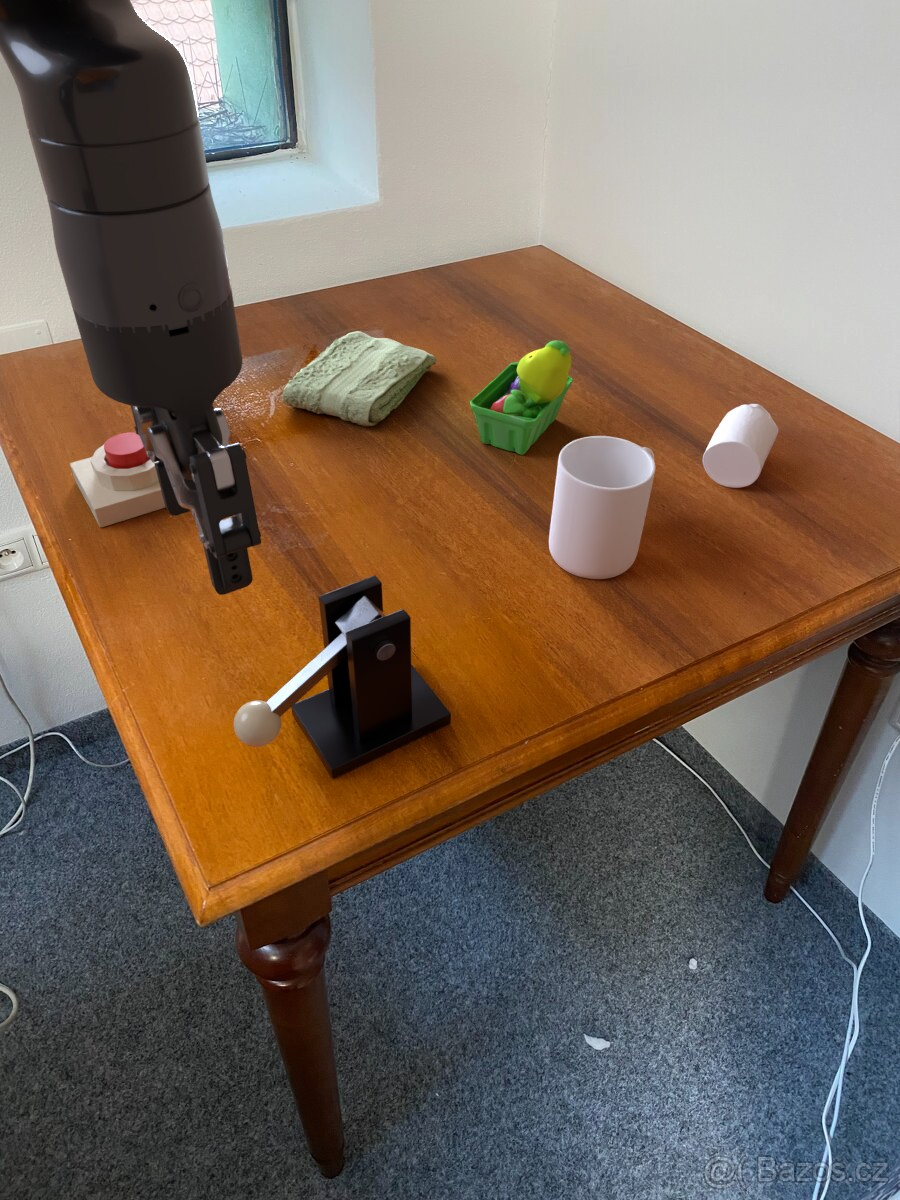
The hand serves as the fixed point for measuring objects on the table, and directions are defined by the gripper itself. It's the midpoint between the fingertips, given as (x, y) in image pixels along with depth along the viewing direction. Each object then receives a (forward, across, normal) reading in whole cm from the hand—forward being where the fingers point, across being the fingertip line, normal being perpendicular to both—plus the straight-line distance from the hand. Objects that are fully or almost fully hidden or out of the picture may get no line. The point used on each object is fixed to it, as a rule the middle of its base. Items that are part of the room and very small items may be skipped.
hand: (208, 546), depth 53 cm
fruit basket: (+18, -25, +42) cm, 52 cm away
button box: (+18, -35, +2) cm, 40 cm away
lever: (+12, +3, +5) cm, 14 cm away
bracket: (+18, +3, +8) cm, 20 cm away
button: (+14, -35, +2) cm, 38 cm away
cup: (+18, -5, +37) cm, 42 cm away
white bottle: (+18, -9, +59) cm, 63 cm away
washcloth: (+18, -43, +31) cm, 56 cm away
